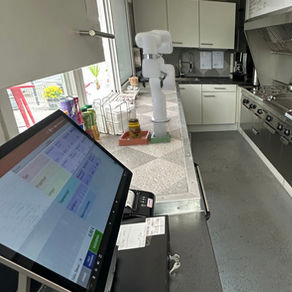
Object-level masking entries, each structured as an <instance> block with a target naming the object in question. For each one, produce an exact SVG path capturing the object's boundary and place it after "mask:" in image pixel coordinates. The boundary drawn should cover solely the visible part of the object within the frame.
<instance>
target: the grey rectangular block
mask: <svg viewBox="0 0 292 292" xmlns="http://www.w3.org/2000/svg"><path fill="white" fill-rule="evenodd" d="M166 122H167V121H165V122H153V123H152V125H153V126H152V127H153V132H154V136H155V137H167V132H168V131H167V123H166Z"/></svg>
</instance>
